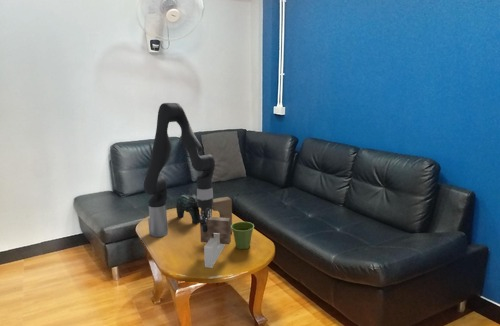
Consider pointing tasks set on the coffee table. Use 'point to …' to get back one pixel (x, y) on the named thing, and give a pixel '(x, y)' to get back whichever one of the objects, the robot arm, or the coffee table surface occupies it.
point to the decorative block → (223, 208)
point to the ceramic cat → (188, 207)
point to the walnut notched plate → (217, 229)
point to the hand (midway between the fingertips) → (206, 230)
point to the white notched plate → (212, 250)
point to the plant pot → (242, 234)
